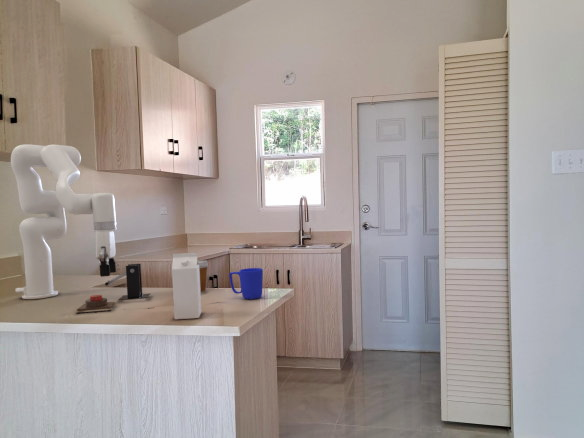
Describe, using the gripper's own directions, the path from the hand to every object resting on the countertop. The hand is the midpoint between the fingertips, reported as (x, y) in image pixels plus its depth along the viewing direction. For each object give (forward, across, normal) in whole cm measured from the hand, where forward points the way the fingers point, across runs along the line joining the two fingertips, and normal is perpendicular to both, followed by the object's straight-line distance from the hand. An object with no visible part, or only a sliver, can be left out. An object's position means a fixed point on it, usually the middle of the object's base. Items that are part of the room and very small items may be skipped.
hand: (108, 274), depth 169 cm
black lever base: (+10, 0, +9) cm, 13 cm away
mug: (+11, +13, +49) cm, 51 cm away
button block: (+10, +14, -1) cm, 17 cm away
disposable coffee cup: (+10, -4, +31) cm, 33 cm away
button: (+7, +14, -1) cm, 15 cm away
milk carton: (+11, +34, +30) cm, 46 cm away
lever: (+2, 0, +5) cm, 5 cm away
